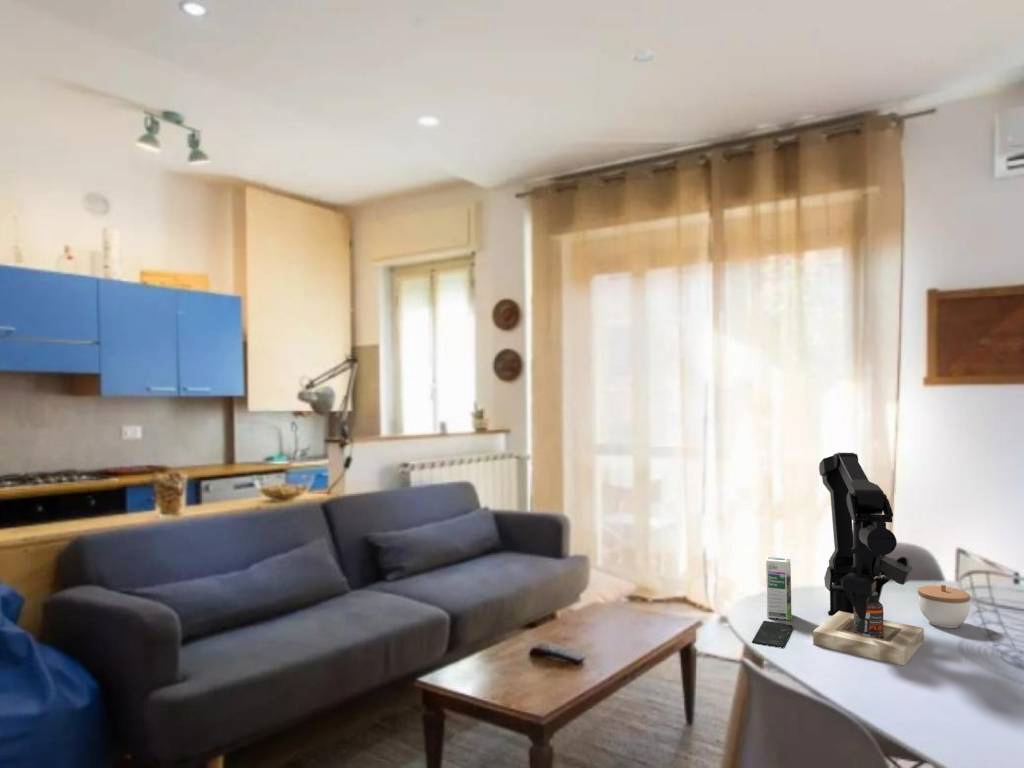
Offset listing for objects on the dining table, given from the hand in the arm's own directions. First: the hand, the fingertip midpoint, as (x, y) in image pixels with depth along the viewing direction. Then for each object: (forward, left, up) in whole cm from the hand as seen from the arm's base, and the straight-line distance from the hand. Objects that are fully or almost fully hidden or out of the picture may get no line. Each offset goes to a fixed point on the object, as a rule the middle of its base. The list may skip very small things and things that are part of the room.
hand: (868, 613), depth 152 cm
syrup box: (-22, +5, -7) cm, 24 cm away
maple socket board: (0, 0, -6) cm, 6 cm away
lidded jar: (+10, +25, -7) cm, 28 cm away
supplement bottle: (0, 0, -7) cm, 7 cm away
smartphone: (-18, -9, -7) cm, 21 cm away
